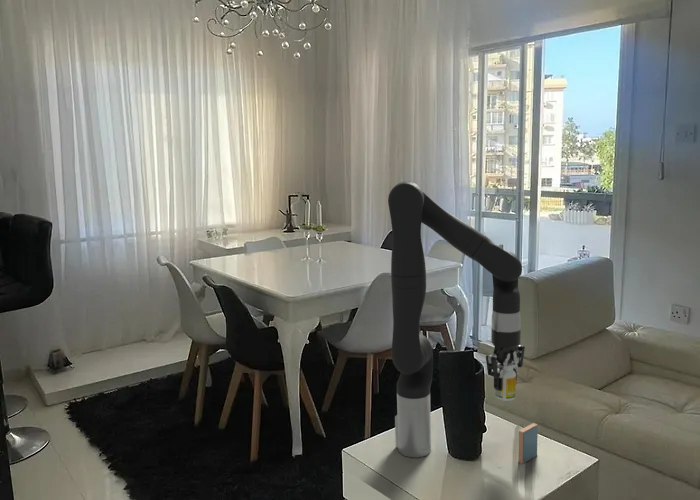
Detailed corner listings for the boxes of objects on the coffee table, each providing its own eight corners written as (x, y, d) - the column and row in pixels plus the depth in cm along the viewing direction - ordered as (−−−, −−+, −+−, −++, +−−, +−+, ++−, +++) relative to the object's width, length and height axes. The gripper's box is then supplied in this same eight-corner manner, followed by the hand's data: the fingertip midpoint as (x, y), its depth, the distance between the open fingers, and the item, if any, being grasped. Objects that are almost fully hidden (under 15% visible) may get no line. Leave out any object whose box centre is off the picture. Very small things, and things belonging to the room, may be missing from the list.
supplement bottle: (493, 399, 155) (494, 366, 154) (496, 391, 160) (496, 359, 159) (514, 402, 153) (515, 368, 152) (516, 394, 158) (516, 361, 157)
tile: (518, 461, 155) (518, 430, 153) (532, 453, 159) (533, 422, 157) (523, 464, 154) (523, 432, 152) (537, 455, 158) (538, 424, 156)
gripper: (511, 318, 161) (510, 375, 164) (477, 329, 152) (477, 389, 155) (534, 324, 155) (533, 383, 158) (500, 335, 146) (499, 398, 149)
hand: (505, 386), depth 156 cm, fingers closed on supplement bottle, 5 cm apart
